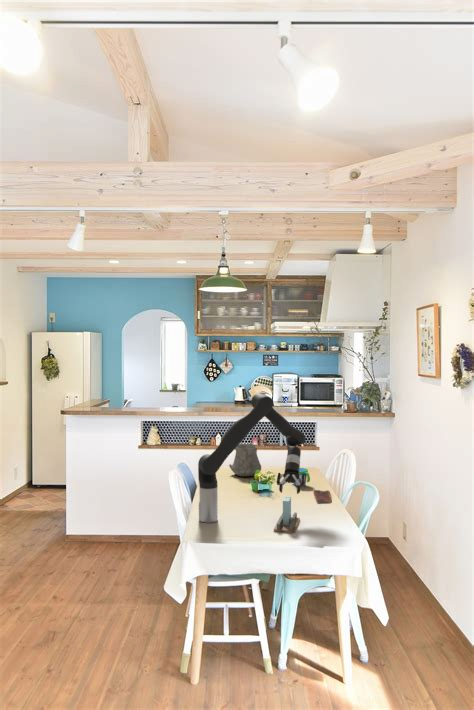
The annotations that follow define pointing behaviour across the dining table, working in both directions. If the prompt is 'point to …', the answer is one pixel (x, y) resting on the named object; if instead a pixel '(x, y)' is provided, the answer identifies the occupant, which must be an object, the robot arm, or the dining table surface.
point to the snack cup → (306, 475)
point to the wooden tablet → (323, 497)
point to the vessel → (246, 461)
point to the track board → (285, 528)
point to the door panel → (286, 511)
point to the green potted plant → (255, 481)
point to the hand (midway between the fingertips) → (289, 492)
